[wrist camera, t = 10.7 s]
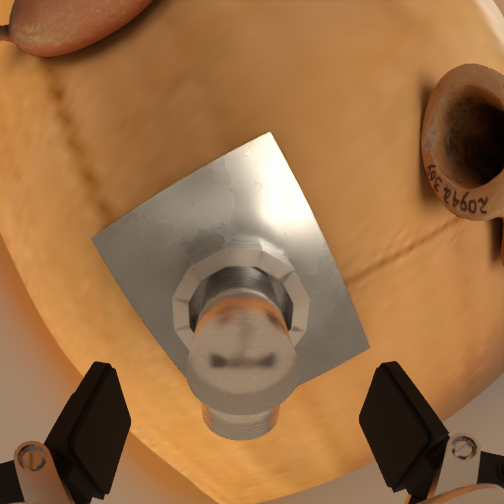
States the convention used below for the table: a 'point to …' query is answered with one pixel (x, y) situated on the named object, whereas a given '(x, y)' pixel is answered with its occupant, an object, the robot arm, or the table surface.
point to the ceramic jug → (66, 23)
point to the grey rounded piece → (241, 355)
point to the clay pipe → (467, 143)
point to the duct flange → (234, 256)
